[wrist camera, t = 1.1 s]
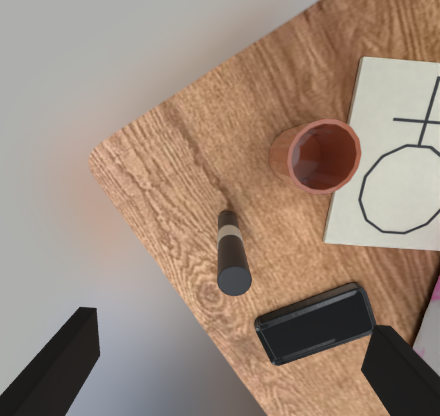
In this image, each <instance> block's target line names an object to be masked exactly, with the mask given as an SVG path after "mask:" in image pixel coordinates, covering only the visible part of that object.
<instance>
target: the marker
mask: <svg viewBox="0 0 440 416" xmlns="http://www.w3.org/2000/svg"><path fill="white" fill-rule="evenodd" d="M217 248H218V273H217V283H218V286H219V288H220V289H221V291H222V292H224V293H225V294H227V295H230V296H238V295H242V294H244V293H245V292H246V291H247V290H248V289H249V288H250V286H251V282H252V278H251V274H250V270H249V266H248V262H247V258H246V254H245V250H244V244H243V240H242V236H241V232H240V230H239V226H238V222H237V218H236V215H235V214H234V213H233V212H231V211H224V212H222V213H221V214H220V215H219V218H218V238H217Z"/></svg>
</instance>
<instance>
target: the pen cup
mask: <svg viewBox="0 0 440 416" xmlns="http://www.w3.org/2000/svg"><path fill="white" fill-rule="evenodd" d="M361 153H362V152H361V146H360V140H359V138H358V136H357V135H356V133H355V132H354V130H353V129H352V127H351V126H349V125H347V124H346V123H344V122H342V121H340V120H338V119H325V118H324V119H320V120H317V121H313V122H310V123H307V124H304V125H300V126H297V127H294V128H291V129H288V130H285V131H284V132H282V133H281V134H280V135H279V136H278V137H277V138H276V139H275V140H274V142H273V143H272V145H271V148H270V151H269V164H270V167H271V169H272V171H273V173H274V174H275V175H276V176H277V177H278V178H279V179H281V180H283V181H285V182H287V183H289V184H291V185H293V186H295V187H297V188H299V189H301V190H304V191H306V192H308V193H310V194H322V195H324V194H327V193H331V192H334V191H337V190H339V189H340V188H341V187H343V186H344V185H345V184H347V183H348V182H349V181H350V180H351V179H352V177H353V176H354V174H355V172H356V171H357V169H358V167H359V163H360V159H361Z"/></svg>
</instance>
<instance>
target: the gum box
mask: <svg viewBox="0 0 440 416" xmlns="http://www.w3.org/2000/svg"><path fill="white" fill-rule="evenodd" d="M413 350H414V351H415V352H416V353H417V354H418V355H419V356H420V357H421V358H422V359H423V360H424V361H425V362H426V363H427V364H428V365H429V366H430V367H431V368H432V369H433V370H434V371H435V372H436V373H437V374H438V375H439V376H440V276H439V278H438V280H437V283H436V285H435V288H434V291H433V294H432V298H431V301H430V303H429V306H428V308H427V310H426V313H425V315H424V318H423V322H422V325H421V328H420V331H419V333H418V335H417V337H416V340H415V343H414V346H413Z"/></svg>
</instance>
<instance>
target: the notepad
mask: <svg viewBox="0 0 440 416" xmlns="http://www.w3.org/2000/svg"><path fill="white" fill-rule="evenodd" d="M347 125H349V126H351V127H352V129H353V130H354V132H355V133H356V135H357V136H358V138H359V140H360V146H361V152H362V153H361V159H360V163H359V167H358V169H357V171H356V172H355V174H354V176H353V177H352V179H351V180H350V181H349V182H348V183H347V184H345V185H344V186H343V187H341V188H340V189H339V190H337V191H334V192H333V193H332V197H331V202H330V207H329V212H328V217H327V221H326V226H325V231H324V236H323V242H324V243H330V244H345V245H360V246H375V247H389V248H404V249H419V250H433V251H440V63H432V62H421V61H409V60H398V59H386V58H375V57H362V58H361V59H360V63H359V67H358V72H357V77H356V82H355V87H354V91H353V96H352V101H351V106H350V111H349V115H348V120H347Z"/></svg>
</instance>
